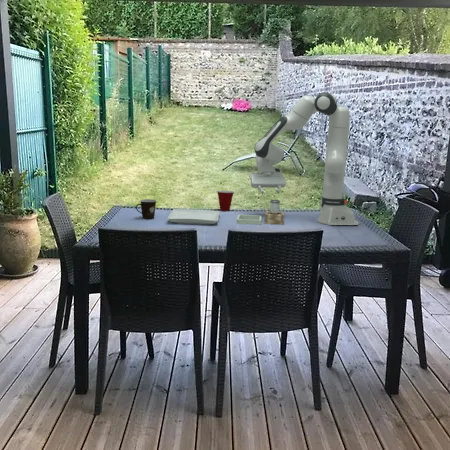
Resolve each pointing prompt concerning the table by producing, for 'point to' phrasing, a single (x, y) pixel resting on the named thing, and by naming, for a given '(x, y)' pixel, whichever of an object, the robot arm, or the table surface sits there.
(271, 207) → the canister
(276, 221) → the holder
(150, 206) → the coffee mug
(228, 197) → the plastic cup
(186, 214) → the square plate
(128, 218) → the table surface
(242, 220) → the tray
